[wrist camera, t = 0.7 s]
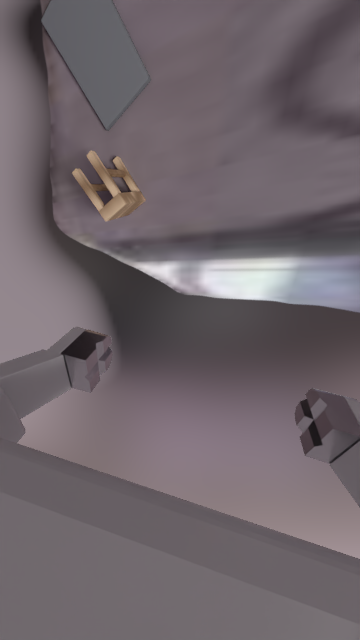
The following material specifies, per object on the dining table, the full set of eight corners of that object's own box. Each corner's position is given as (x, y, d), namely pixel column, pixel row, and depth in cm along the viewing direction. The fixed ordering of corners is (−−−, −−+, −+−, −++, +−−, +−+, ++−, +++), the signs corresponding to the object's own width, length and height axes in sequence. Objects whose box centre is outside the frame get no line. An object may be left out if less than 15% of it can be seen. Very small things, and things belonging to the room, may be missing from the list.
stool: (145, 200, 45) (125, 203, 37) (128, 215, 47) (105, 221, 39) (119, 156, 42) (90, 150, 33) (102, 175, 44) (71, 173, 36)
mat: (151, 79, 35) (149, 77, 34) (108, 130, 40) (106, 129, 39) (84, -56, 29) (81, -61, 28) (44, 23, 34) (40, 20, 33)
